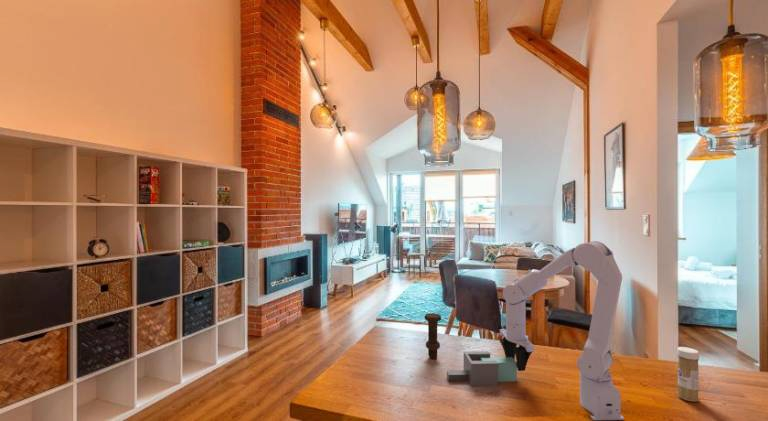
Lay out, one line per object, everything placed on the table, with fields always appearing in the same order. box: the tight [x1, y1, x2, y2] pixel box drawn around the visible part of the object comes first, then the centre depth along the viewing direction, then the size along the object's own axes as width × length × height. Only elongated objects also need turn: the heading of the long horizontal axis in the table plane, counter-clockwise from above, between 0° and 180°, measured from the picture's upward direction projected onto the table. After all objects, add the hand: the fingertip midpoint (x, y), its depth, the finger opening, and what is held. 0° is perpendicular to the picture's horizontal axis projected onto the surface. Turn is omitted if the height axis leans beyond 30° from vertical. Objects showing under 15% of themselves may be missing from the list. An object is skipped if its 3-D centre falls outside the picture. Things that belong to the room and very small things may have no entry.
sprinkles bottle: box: [676, 346, 700, 403], centre depth 97 cm, size 5×5×14 cm
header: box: [446, 350, 499, 387], centre depth 109 cm, size 9×14×7 cm, turn 92°
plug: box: [480, 356, 518, 383], centre depth 109 cm, size 4×10×6 cm, turn 92°
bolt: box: [424, 312, 442, 360], centre depth 124 cm, size 6×5×15 cm
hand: (515, 366), depth 109 cm, fingers open, 5 cm apart
